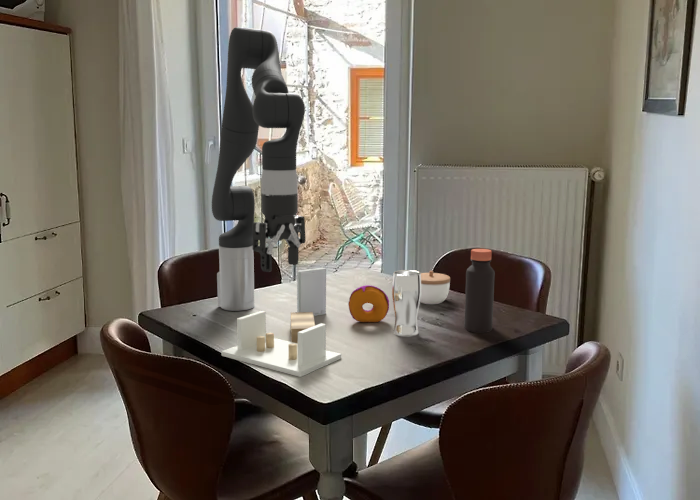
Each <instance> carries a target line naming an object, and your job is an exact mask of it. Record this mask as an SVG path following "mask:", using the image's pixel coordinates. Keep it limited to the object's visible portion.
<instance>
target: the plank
mask: <svg viewBox="0 0 700 500" xmlns="http://www.w3.org/2000/svg"><path fill="white" fill-rule="evenodd" d="M313 326H316V324H315V316H313V312H292V311H291V312H290V337H291V338H290V339H291V341H290V342H293V343H297V341H298V332H300V331H302V330H305V329H308V328H310V327H313Z"/></svg>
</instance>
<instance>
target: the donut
mask: <svg viewBox="0 0 700 500" xmlns="http://www.w3.org/2000/svg"><path fill="white" fill-rule="evenodd" d="M365 304H370V305H372V308H371V309H369V310H367V309H364V307H363V306H364V305H365ZM348 309H349V313H350V316H351V317H352V319H353V320H355V321H357V322H360V323H378V322H381V321H382V320H384V319H385V318H386V316H387V315H388V313H389V310H390V300H389V296H388V295H387V294H386V292H385V291H384V290H382V289H381V288H379V287H378V286H374V285H371V284H370V285H366V284H365V285H362V286H360V287H357V288H356V289H354V290H353V291H352V292H351V294H350V295H349V301H348Z"/></svg>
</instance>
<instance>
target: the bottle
mask: <svg viewBox="0 0 700 500" xmlns="http://www.w3.org/2000/svg"><path fill="white" fill-rule="evenodd" d="M492 251H493V250H491V249H488V248H472V249H471V250H470V261H471V265H469V266H468V268H467V269H466V270H465V271H466V272H465V292H464V293H465V296H464V297H465V298H464V321H463V322H464V323H463V327H464V330H466V331H468V332H470V333H471V332H472V333H477V334H478V333H481V334H482V333H488V332H492V330H493V322H494V321H493V317H494V295H495V294H494V293H495V276H496V273H495V270H494V268H493V267H492V266H491V262H492Z"/></svg>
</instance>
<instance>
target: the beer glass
mask: <svg viewBox="0 0 700 500" xmlns="http://www.w3.org/2000/svg"><path fill="white" fill-rule="evenodd" d="M421 273H422V272H420V271H417V270H413V269H412V270H411V269H400V270H395V271H394V272H393V273H392V275H393V276H392V284H391V289H392V291H391V295H392V303H393V311H394V324H393V325H394V326H393V330H392V333H393V334H394V335H395V336H398V337H404V338H410V337H415V336H418V334H419V328H418V327H419V326H418V314H419V310H420V309H419V308H420V305H421V303H420V299H421Z"/></svg>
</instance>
